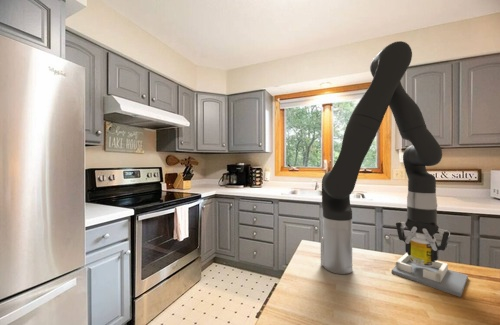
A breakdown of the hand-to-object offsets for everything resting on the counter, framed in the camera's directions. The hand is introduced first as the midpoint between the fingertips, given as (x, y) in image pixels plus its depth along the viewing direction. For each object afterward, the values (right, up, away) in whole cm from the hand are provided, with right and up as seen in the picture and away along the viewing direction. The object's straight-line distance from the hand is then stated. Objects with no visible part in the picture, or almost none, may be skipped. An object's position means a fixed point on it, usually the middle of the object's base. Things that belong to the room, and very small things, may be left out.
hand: (421, 257), depth 70 cm
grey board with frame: (+1, -5, -2) cm, 5 cm away
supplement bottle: (0, -2, 0) cm, 2 cm away
